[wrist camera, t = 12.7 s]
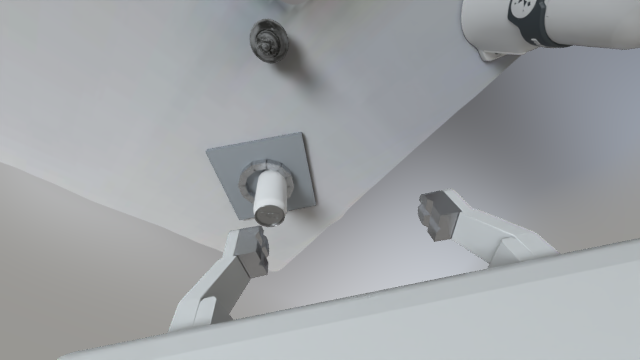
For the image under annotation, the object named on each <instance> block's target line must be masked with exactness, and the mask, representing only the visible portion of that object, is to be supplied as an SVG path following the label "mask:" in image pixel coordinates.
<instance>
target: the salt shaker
mask: <svg viewBox="0 0 640 360" xmlns="http://www.w3.org/2000/svg"><path fill="white" fill-rule="evenodd" d="M288 44H289V43H288V37H287V34H286V31H285V30H284V28H283V27H282V26H281V25H280V24H279V23H278V22H276V21H274V20H271V19H262V20H260V21H258V22H257V23H256V24H254V26H253V27H252V29H251V32H250V45H251V48H252V50H253V52H254V53H255V55H256V56H257V57H258V58H259V59H260V60H262V61H264V62H267V63H276V62H278V61H280V60H281V59H283V58H284V56H285V55H286V53H287V50H288Z"/></svg>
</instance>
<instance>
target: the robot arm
mask: <svg viewBox="0 0 640 360" xmlns="http://www.w3.org/2000/svg"><path fill="white" fill-rule="evenodd" d="M461 24H462V29H463V33H464V35H465V37H466V39H467V40H468V41H469V42H470V43H471V44H472V45H474V46H475V47H476V48H477V49H478V51H479V54H480V56H481V58H482V60H483V61H492V60H494V59H497V58H500V57H502V56H505V55H507V54H515V55H523V54H525V53H526V52H528V51H531V50H534V49H536V48H538V47H545V48H557V47H558V48H559V47H560V48H561V47H562V48H564V47H569V46H573V45H576V46H588V47H600V48H610V49H622V50H623V49H624V50H627V49H634V48H640V0H464V1H463V5H462V12H461ZM419 200H420V202H421V205H420V206H419V207H418V216H419V219H420V221H421V223H422V224H423V225H424V226H427V227H428V233H429V234H430V236H431V237H432V239H433V240H434V242H435V241H441V240H447V239H452V240H453V241H454V242H456V243H458V244H459V245H461V246H462V247H464V248H466V249H467V250H469V251H470V252H472V253H474V254H475V255H477V256H478V257H480V258H481V259H483V260H484V261H486V262H487V263H489V266H488V268H487V269H484V270H479V271H475V272H469V273H464V274H459V275H455V276H450V277H445V278H439V279H435V280H430V281H425V282H420V283H415V284H410V285H405V286H400V287H395V288H390V289H385V290H380V291H375V292H370V293H365V294H360V295H355V296H350V297H345V298H340V299H336V300H331V301H326V302H321V303H316V304H311V305H306V306H301V307H296V308H291V309H286V310H281V311H276V312H271V313H266V314H261V315H256V316H251V317H246V318H241V319H236V320H233V319H232V317H231V316H230V315H229V313H230V312H231V310H232V308H233V307H234V305H235V303H236V302H237V300H238V299H239V297H240V296H241V294H242V292H243V290H244V289H245V287H246V286H247V284H248V282H249V281H250V278H255V277H259V276H264V275H267V273H268V261H267V259H266V258H267V257H268V255H269V244H268V240H267V238H266V236H264V235H263V231H264V230H263V228H262V226H255V227H249V228H243V229H239V230H232V231H230V232H229V234H228V238H227V241H226V245H225V249H224V253H223V256H222V259H219V260H218V261H217V262H216V263H215V264H214V265H213V266H212V267H211V268H210V269H209V270H208V272H207V273H206V274H205V275H204V276H203V277H202V278H201V279H200V280H199V282H197V283H196V285H195V286H194V287H193V288H192V289H191V290H190V291H189V292H188V293H187V294H186V295H185V296H184V297H183V299H182V300H181V301H180V302H179V304H178V306H177V309H176V312H175V314H174V317H173V320H172V322H171V325H170V328H169V330H168V333H166V334H161V335H157V336H151V337H146V338H142V339H137V340H132V341H127V342H122V343H117V344H112V345H107V346H102V347H97V348H92V349H86V350H81V351H76V352H72V353H69V354H66V355H64V356H61V357H60V358H58V359H57V360H640V238H638V239H633V240H628V241H623V242H618V243H613V244H609V245H603V246H599V247H594V248H588V249H583V250H579V251H573V252H568V253H564V254H560V253H559V252H558V251H557V250H556V249H554V248H553V247H552V246H551V245H550V244H548V243H547V242H546V241H545V240H544V239H543V238H541V237H540V236H539V235H538V234H537V233H536V232H534V231H531V230H529V229H526V228H524V227H521V226H519V225H516V224H513V223H511V222H509V221H506V220H504V219H501V218H498V217H496V216H493V215H491V214H488V213H486V212H483V211H481V210H478V209H473V208H472V207H471V206H470V205H469V204H468V203H467V202H466V201H464V199H463V198H462V197H460V195H459V194H458V193H457V192H456V191H454V190H453V189H446V190H441V191H436V192H431V193H426V194H422V195H421V196H420V199H419Z"/></svg>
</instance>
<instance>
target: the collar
mask: <svg viewBox="0 0 640 360" xmlns="http://www.w3.org/2000/svg"><path fill="white" fill-rule="evenodd" d="M263 169H269V170H273V171H277V172H278V173H280V174H281V175H282V176H283V177H284V178H285V179H286V182H287V199H289V198H290V197H291V194H292V192H293V189H294V180H293V176H292V172H291V171H290V170H289V169H288V168H287V167H286V166H285V165H284V164H283V163H281V162H279V161H275V160H271V159H261V160H256V161H253V162H251V163H249V164H248V165H247V166H246V167H245V168H243V169H242V171H241V175H240V179H239V183H238V187H239V190H240V192H241V194H242V196H243V197H244V198H245V199H246V200H248V201H249V202H251V203H252V204H254V201H255V195H256V194H255V193H254V192H252V191H251V190H250V189H249V187H248V184H247V182H246V181H247V177H249V176H250V175H251V174H252V173H253V172H255V171H258V170H263Z"/></svg>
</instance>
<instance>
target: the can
mask: <svg viewBox="0 0 640 360" xmlns="http://www.w3.org/2000/svg"><path fill="white" fill-rule="evenodd" d="M253 212H254V215H255V220H256V221H257V223H259V224H260V225H262V226H265V227H274V226H277V225H279V224H281V223H282V222H283V221H284V218H285V215H286V213H287V182H286V179H285V178H284V177H283V176H282V175H281V174H280V173H278V172H277V171H273V170H266V171H264V172H262V173H261V174H260V176H259V178H258V183H257V188H256V195H255V201H254V207H253Z"/></svg>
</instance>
